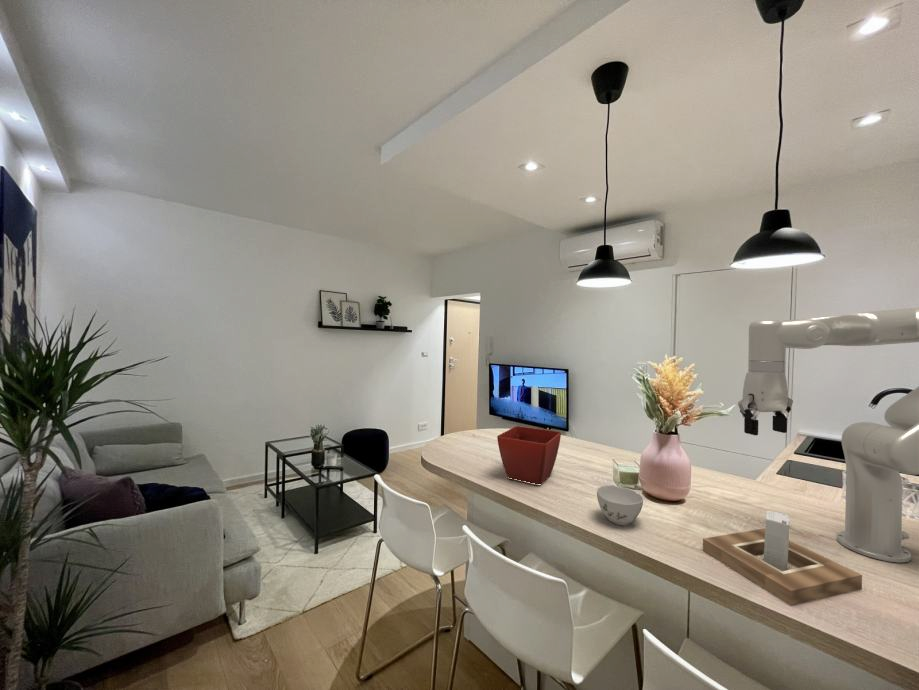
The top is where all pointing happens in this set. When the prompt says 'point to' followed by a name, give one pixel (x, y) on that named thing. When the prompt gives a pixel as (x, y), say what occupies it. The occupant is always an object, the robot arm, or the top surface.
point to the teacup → (619, 503)
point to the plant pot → (529, 453)
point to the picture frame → (790, 586)
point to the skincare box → (776, 540)
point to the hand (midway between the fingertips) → (765, 432)
